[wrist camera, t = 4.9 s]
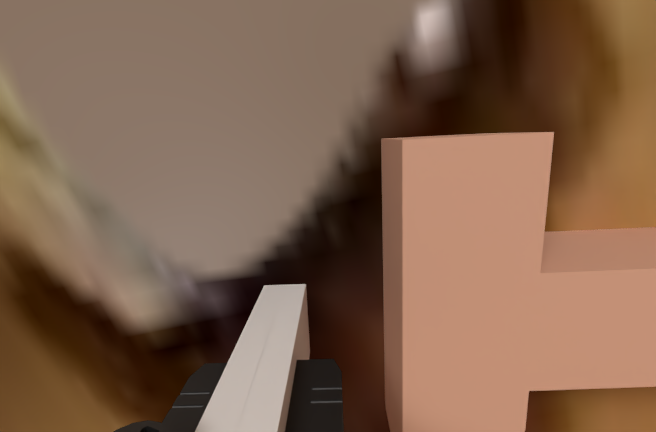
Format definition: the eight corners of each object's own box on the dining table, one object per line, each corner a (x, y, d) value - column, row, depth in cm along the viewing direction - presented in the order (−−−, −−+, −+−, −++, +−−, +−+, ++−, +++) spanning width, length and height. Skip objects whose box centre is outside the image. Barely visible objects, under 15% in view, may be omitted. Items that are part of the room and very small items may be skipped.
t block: (385, 405, 16) (402, 493, 12) (380, 138, 13) (402, 139, 9) (650, 396, 15) (757, 484, 12) (703, 122, 13) (866, 116, 9)
